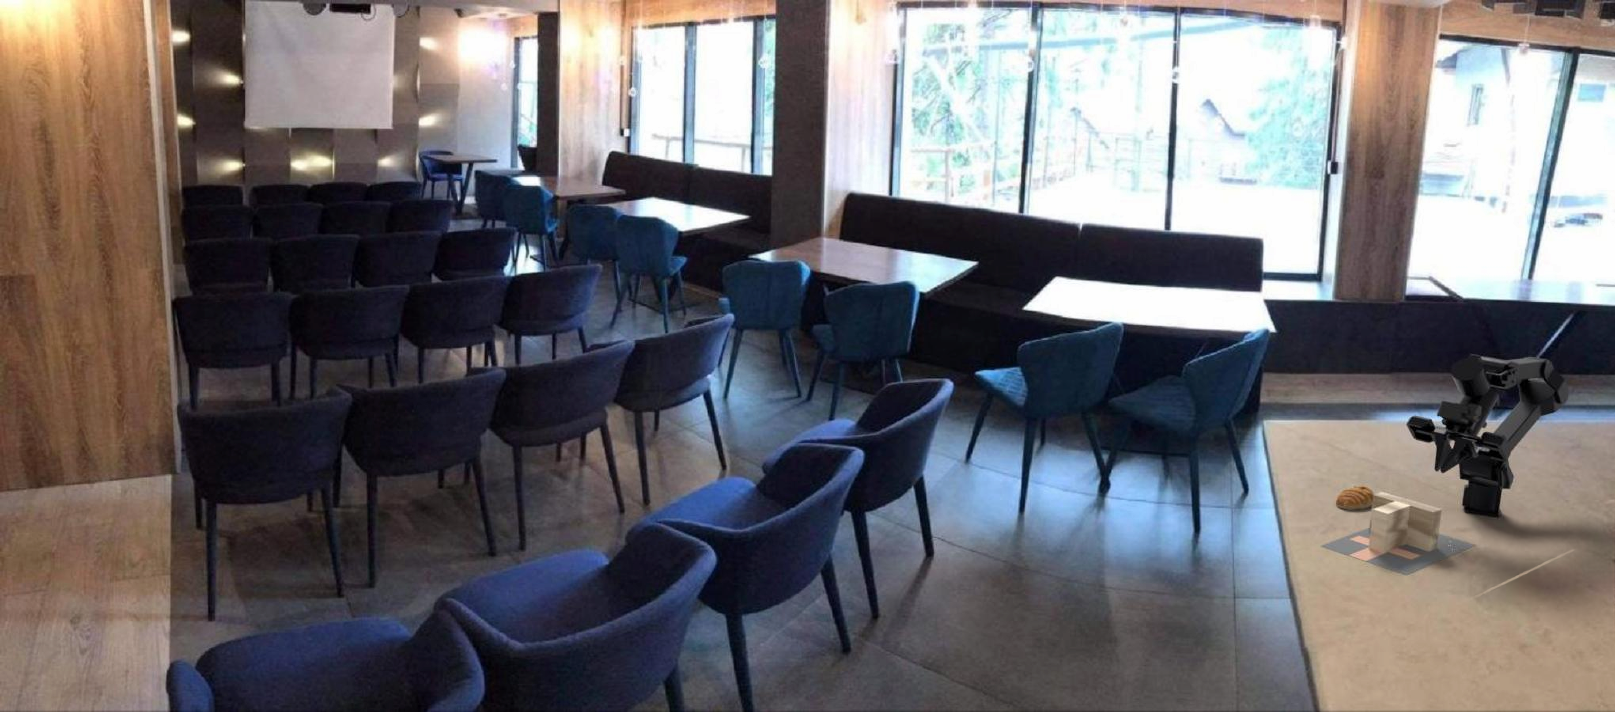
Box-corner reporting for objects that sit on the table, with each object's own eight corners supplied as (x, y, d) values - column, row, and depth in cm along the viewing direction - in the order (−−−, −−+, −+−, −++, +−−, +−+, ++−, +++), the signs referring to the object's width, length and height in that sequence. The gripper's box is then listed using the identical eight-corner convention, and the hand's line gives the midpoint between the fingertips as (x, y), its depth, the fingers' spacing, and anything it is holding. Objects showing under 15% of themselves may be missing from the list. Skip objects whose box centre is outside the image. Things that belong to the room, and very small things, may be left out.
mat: (1391, 521, 241) (1391, 519, 241) (1475, 546, 227) (1476, 544, 227) (1320, 547, 227) (1320, 545, 226) (1405, 577, 213) (1406, 574, 213)
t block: (1377, 529, 235) (1381, 492, 233) (1436, 548, 225) (1441, 509, 224) (1346, 541, 229) (1350, 502, 227) (1406, 560, 219) (1411, 520, 217)
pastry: (1358, 515, 244) (1359, 498, 244) (1326, 507, 249) (1328, 490, 249) (1378, 506, 250) (1380, 489, 249) (1347, 498, 255) (1349, 481, 254)
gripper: (1416, 377, 240) (1381, 437, 236) (1512, 396, 225) (1476, 460, 221) (1432, 408, 246) (1397, 467, 242) (1526, 428, 231) (1491, 492, 227)
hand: (1438, 471), depth 233 cm, fingers closed
